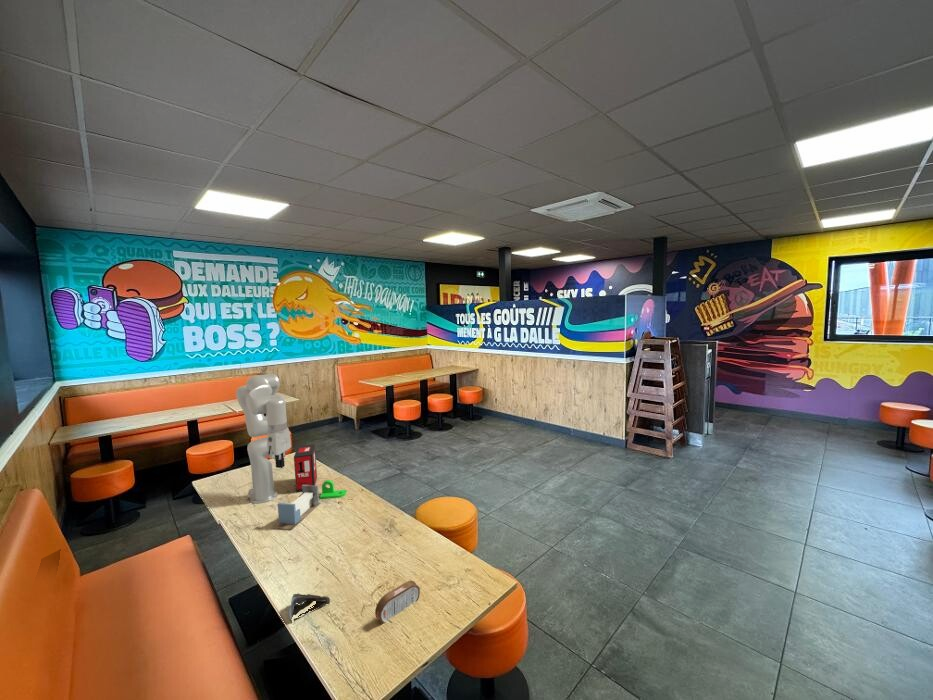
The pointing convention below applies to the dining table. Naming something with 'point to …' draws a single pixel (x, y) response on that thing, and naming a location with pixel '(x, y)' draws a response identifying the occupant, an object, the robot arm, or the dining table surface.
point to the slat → (304, 502)
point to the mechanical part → (331, 491)
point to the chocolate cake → (302, 598)
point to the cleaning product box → (305, 466)
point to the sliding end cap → (288, 513)
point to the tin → (397, 600)
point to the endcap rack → (315, 503)
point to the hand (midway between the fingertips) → (280, 467)
